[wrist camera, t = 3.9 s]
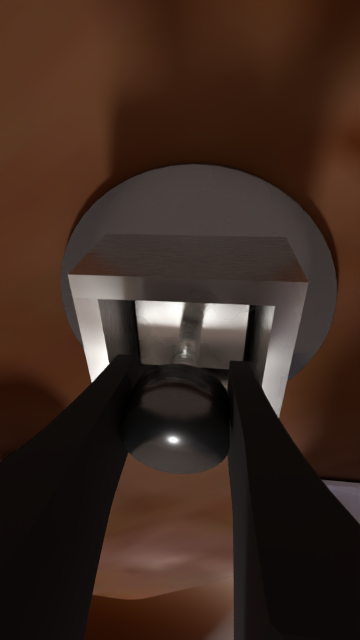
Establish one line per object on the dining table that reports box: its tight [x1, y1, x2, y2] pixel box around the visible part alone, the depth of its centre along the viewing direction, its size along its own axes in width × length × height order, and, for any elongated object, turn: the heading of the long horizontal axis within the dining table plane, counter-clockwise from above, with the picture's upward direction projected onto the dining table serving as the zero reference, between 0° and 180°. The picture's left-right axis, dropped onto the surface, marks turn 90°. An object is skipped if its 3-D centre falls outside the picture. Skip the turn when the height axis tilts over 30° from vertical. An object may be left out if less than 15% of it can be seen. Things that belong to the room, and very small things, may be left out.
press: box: [61, 163, 337, 418], centre depth 13 cm, size 12×12×4 cm
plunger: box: [120, 300, 249, 474], centre depth 11 cm, size 5×5×6 cm
